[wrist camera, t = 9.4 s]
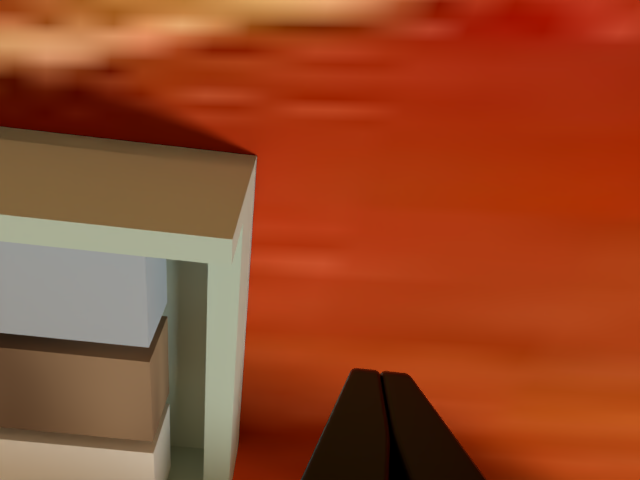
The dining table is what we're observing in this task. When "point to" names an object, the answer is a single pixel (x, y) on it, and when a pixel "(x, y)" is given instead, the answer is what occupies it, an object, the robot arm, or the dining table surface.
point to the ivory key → (84, 455)
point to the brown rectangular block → (84, 385)
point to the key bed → (158, 242)
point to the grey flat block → (81, 294)
